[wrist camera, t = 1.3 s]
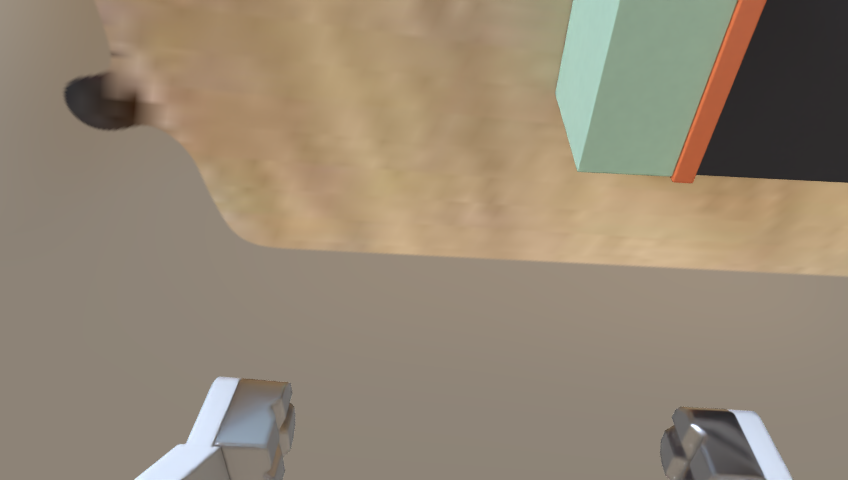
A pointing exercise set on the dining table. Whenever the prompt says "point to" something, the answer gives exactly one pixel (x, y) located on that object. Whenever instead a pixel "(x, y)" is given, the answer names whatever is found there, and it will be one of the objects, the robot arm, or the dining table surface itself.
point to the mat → (788, 98)
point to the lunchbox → (650, 81)
